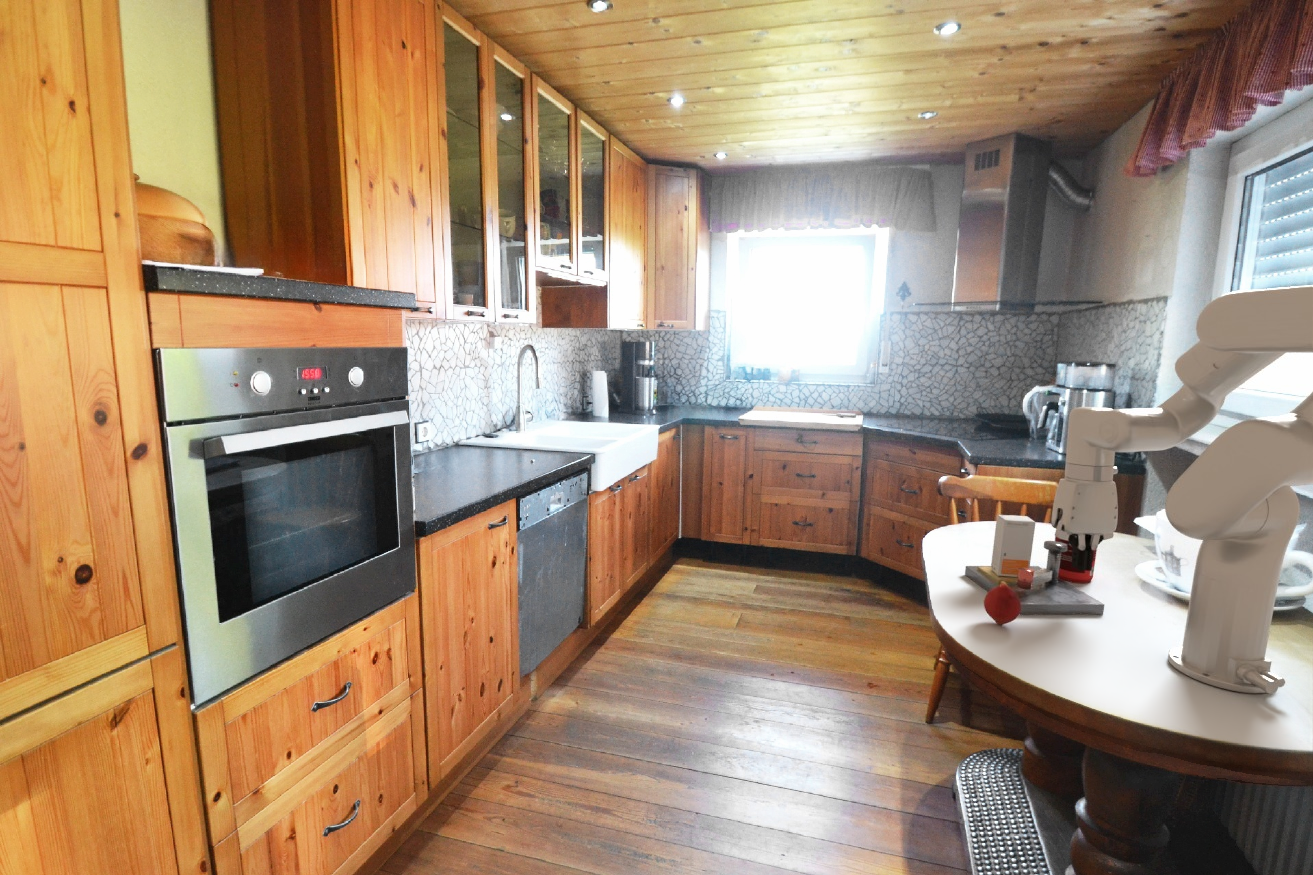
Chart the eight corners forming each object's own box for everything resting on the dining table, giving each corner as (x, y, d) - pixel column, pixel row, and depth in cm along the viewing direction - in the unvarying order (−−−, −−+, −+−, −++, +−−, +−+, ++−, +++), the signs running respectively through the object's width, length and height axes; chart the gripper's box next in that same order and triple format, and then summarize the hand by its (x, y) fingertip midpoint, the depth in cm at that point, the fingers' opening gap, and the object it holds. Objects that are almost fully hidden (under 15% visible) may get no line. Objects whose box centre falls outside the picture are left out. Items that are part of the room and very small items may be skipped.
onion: (1014, 619, 119) (1018, 578, 118) (1022, 633, 114) (1027, 590, 112) (979, 615, 121) (983, 574, 119) (985, 629, 115) (990, 585, 114)
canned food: (1080, 571, 145) (1086, 523, 143) (1100, 584, 137) (1107, 534, 135) (1043, 569, 145) (1049, 521, 144) (1062, 582, 138) (1068, 532, 136)
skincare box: (997, 576, 133) (1004, 519, 131) (990, 569, 137) (996, 514, 135) (1029, 578, 132) (1036, 521, 130) (1021, 571, 137) (1027, 515, 135)
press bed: (1103, 614, 122) (1110, 563, 120) (1019, 614, 121) (1025, 563, 120) (1037, 574, 142) (1042, 530, 140) (964, 574, 141) (969, 530, 139)
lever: (1040, 576, 132) (1042, 560, 132) (1053, 580, 130) (1055, 564, 130) (1014, 586, 127) (1016, 568, 127) (1027, 590, 125) (1029, 573, 125)
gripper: (1112, 469, 126) (1104, 562, 128) (1037, 470, 126) (1031, 563, 128) (1142, 476, 119) (1134, 574, 121) (1063, 476, 118) (1056, 575, 120)
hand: (1081, 568), depth 124 cm, fingers closed
